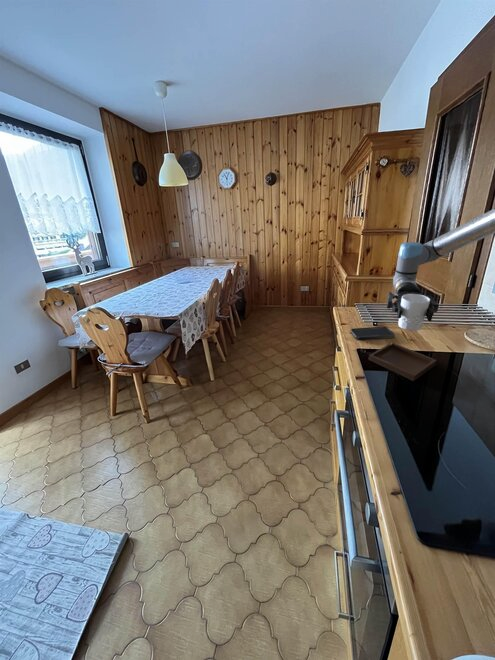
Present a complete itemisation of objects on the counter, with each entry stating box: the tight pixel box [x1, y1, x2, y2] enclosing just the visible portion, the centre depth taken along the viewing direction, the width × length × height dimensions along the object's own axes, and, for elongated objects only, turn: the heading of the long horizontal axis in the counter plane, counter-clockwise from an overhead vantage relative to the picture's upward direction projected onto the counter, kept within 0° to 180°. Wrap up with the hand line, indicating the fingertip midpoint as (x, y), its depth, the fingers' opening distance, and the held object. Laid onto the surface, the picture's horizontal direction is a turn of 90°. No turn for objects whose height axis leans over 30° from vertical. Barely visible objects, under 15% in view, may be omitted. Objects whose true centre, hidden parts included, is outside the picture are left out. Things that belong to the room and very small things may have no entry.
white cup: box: [397, 294, 430, 332], centre depth 91 cm, size 8×8×10 cm
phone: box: [350, 326, 395, 341], centre depth 114 cm, size 8×1×15 cm
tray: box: [368, 342, 437, 382], centre depth 96 cm, size 16×14×2 cm
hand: (415, 315), depth 87 cm, fingers closed on white cup, 8 cm apart
